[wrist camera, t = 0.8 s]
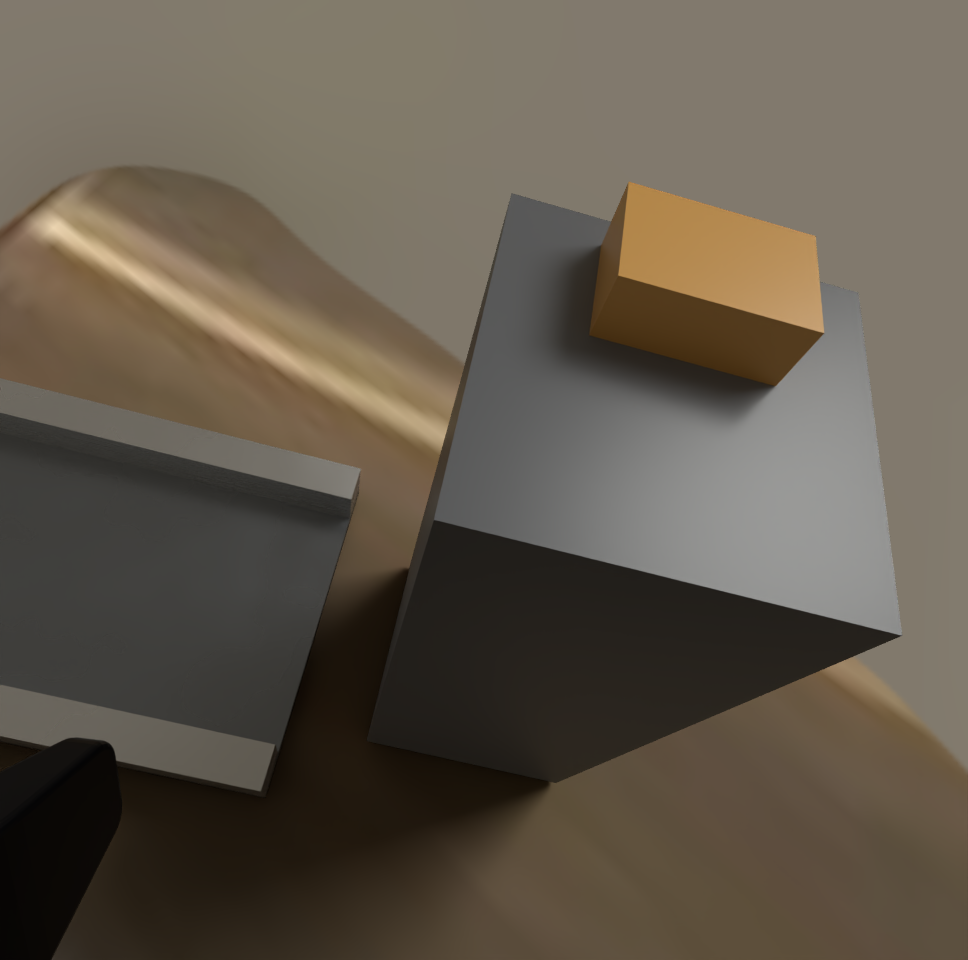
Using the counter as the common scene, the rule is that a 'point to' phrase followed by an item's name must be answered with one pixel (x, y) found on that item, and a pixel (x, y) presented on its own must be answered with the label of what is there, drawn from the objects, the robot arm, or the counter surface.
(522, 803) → the counter surface
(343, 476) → the rail seat
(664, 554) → the block
